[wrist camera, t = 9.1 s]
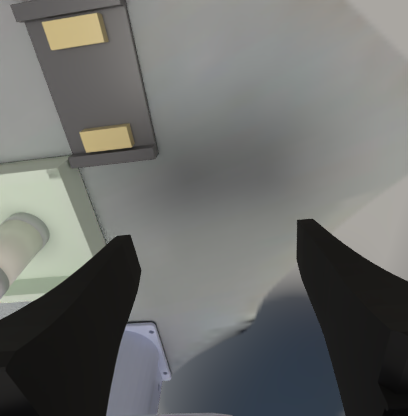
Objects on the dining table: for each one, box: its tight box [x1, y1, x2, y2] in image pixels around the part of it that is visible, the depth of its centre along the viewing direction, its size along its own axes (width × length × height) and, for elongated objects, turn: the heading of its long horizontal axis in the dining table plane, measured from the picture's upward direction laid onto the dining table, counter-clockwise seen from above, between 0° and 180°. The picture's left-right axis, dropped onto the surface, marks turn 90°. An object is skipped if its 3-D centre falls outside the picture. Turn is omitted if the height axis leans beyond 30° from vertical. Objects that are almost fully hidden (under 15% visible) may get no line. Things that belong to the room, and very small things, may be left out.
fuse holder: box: [10, 0, 158, 169], centre depth 19 cm, size 10×6×1 cm, turn 8°
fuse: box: [0, 212, 50, 299], centre depth 22 cm, size 4×4×6 cm
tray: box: [0, 155, 106, 303], centre depth 24 cm, size 12×12×2 cm
